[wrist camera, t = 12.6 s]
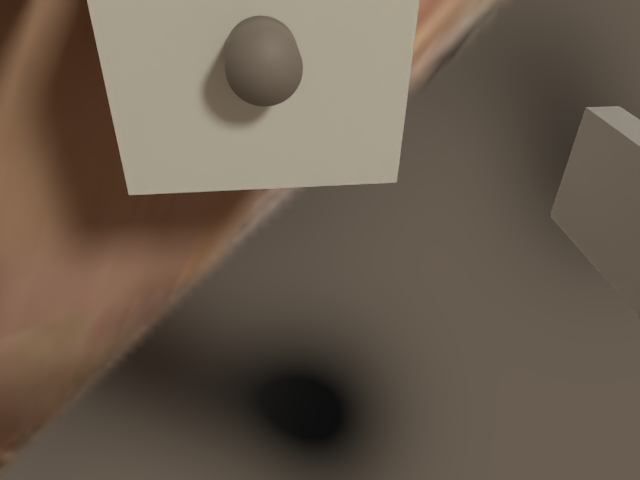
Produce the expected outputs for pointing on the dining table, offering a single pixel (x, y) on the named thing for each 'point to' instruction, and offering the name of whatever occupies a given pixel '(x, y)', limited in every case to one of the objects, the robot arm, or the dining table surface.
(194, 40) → the cover
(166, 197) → the dining table surface
